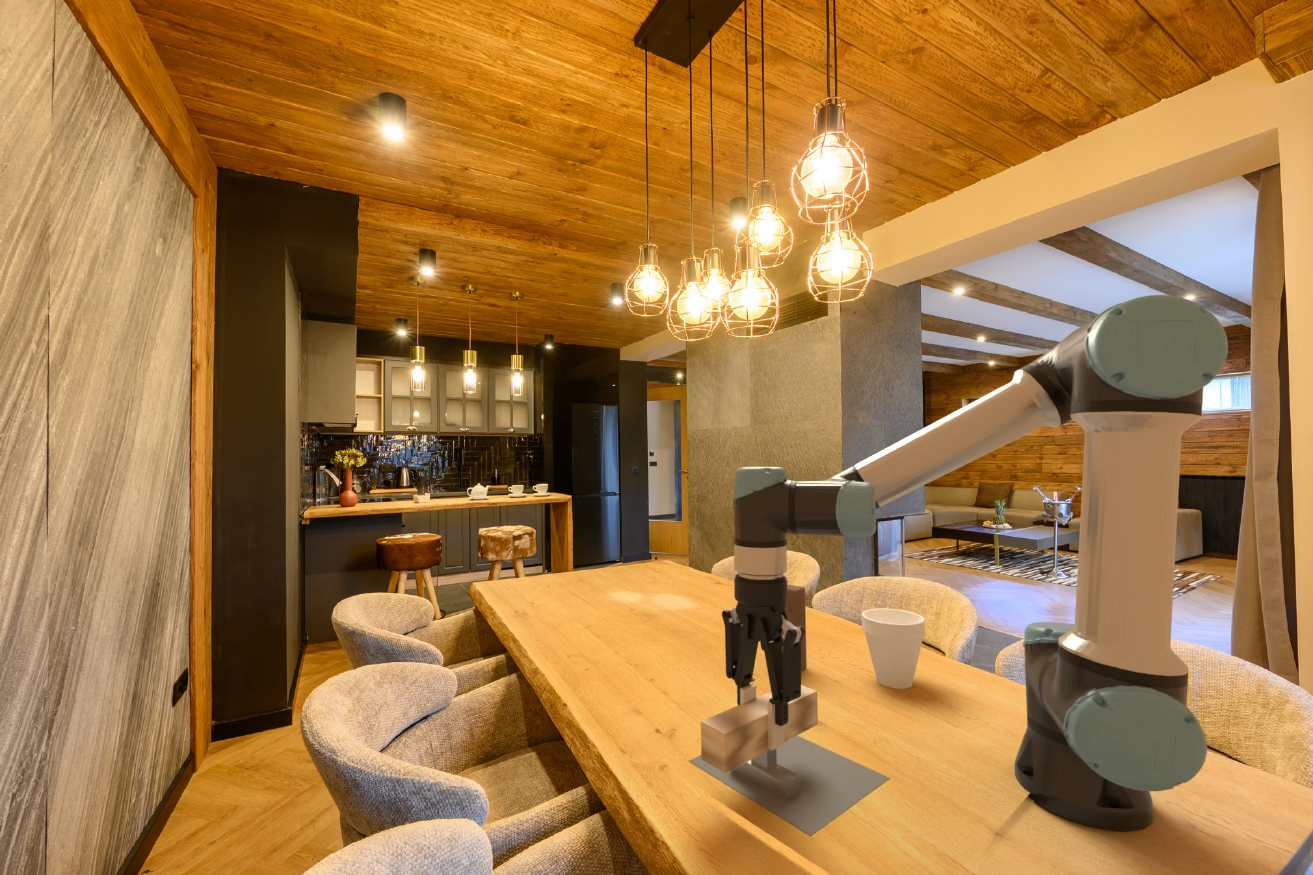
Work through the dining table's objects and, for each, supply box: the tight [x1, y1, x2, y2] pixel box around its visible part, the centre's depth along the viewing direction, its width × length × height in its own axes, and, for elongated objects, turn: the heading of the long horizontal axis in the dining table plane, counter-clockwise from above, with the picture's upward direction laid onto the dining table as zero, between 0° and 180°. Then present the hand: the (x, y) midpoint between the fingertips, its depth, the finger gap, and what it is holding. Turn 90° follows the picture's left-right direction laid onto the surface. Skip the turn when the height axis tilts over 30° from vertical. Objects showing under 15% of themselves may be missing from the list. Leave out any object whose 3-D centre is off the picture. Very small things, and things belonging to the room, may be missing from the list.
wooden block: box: [781, 584, 808, 672], centre depth 123 cm, size 9×4×18 cm, turn 137°
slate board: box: [688, 735, 891, 837], centre depth 82 cm, size 22×19×1 cm
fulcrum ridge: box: [731, 749, 800, 802], centre depth 79 cm, size 10×3×6 cm, turn 39°
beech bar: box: [700, 684, 819, 773], centre depth 79 cm, size 20×4×5 cm, turn 129°
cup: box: [861, 607, 927, 690], centre depth 116 cm, size 12×12×14 cm
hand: (762, 738), depth 79 cm, fingers closed on beech bar, 4 cm apart
